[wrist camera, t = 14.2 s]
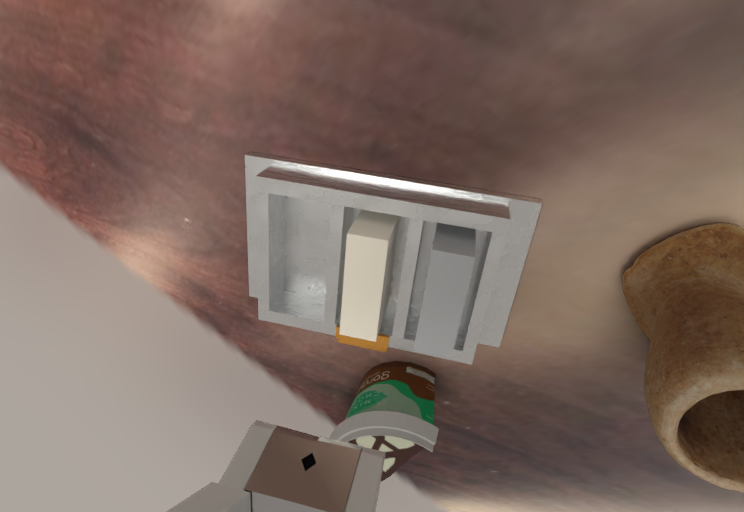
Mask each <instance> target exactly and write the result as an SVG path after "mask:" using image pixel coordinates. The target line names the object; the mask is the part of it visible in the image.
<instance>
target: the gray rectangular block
mask: <svg viewBox="0 0 744 512" xmlns="http://www.w3.org/2000/svg"><path fill="white" fill-rule="evenodd" d="M475 253H476V229H471V228H466V227H460V226H454V225H449V224H443V223H437V226H436V231H435V236H434V242H433V247H432V252H431V257H430V263H429V268H428V273H427V279H426V284H425V290H424V295H423V300H422V306H421V311H420V317H419V322H418V328H417V333H416V338H415V344H414V349H413V351H417V352H422V353H427V354H431V355H436V356H441V357H445V358H450V359H451V358H452V354H453V350H454V346H455V341H456V337H457V333H458V329H459V325H460V320H461V316H462V312H463V308H464V304H465V299H466V295H467V291H468V287H469V283H470V278H471V274H472V270H473V266H474V262H475Z"/></svg>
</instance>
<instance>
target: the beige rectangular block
mask: <svg viewBox="0 0 744 512" xmlns="http://www.w3.org/2000/svg"><path fill="white" fill-rule="evenodd" d="M399 221H400V216H397V215H391V214H386V213H380V212H374V211H368V210H363V209H361V211H360V213H359V214H358V216H357V218H356V219H355V221H354V223H353V224H352V226H351V228H350V229H349V231H348V233H347V240H346V253H345V266H344V280H343V293H342V306H341V319H340V333H339V334H340V335H345V336H350V337H354V338H359V339H364V340H369V341H374V342H376V340H377V337H378V334H379V331H380V327H381V324H382V321H383V318H384V315H385V312H386V308H387V305H388V302H389V295H390V288H391V281H392V273H393V266H394V258H395V251H396V243H397V236H398V228H399Z"/></svg>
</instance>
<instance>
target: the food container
mask: <svg viewBox="0 0 744 512" xmlns="http://www.w3.org/2000/svg"><path fill="white" fill-rule="evenodd" d="M434 399H435V373H433V372H432V371H430V370H428V369H427V368H425V367H422V366H419V365H416V364H414V363H411V362H400V361H393V362H387V363H382V364H380V365H377V366H375V367H373V368H372V369H371V370H369V371H368V372H367V374H366V375H365V376H364V378H363V380H362V382H361V385H360V387H359V389H358V392H357V394H356V396H355V398H354V401H353V403H352V405H351V408H350V410H349V412H348V415H347V417H346V419H345V420H344V421H343V422H342V423H340V424H339V425H338V426H337V427H336V428H335V429H334V431H333V433H332V434H331V436H330V439H334V440H338V441H343V442H347V443H351V444H356V445H360V446H363V447H366V448H370V449H374V450H378V451H382V452H386V453H385V460H384V466H383V471H382V477H381V481H383V480H385V479H386V478H388V477H389V476H391V475H392V474H393V473H394V472H395V471H397V470H398V469H399V468H400V467H401V466H402V465H403V464H404V463H405V462H406V461H408V460H409V459H410V458H411V457H413V456H414V455H415V454H417V453H418V452H419V451H421V450H422V449H423V448H426V449H428V450H429V451H431V452H433V446H434V444H435V443H436V439H437V435H438V430H439V428H437V427H435V426H434Z"/></svg>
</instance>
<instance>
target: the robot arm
mask: <svg viewBox="0 0 744 512" xmlns="http://www.w3.org/2000/svg"><path fill="white" fill-rule="evenodd" d="M385 453H386V452H382V451H378V450H374V449H370V448H366V447H363V446H360V445H356V444H351V443H347V442H343V441H338V440H334V439H330V438H325V437H321V436H320V437H317V436H313V435H310V434H306V433H302V432H299V431H295V430H292V429H288V428H285V427H281V426H277V425H273V424H269V423H265V422H262V421H258V420H256V421H255V422H254V423H253V425H251V427H250V428H249V430H248V432H247V434H246V436H245V437H244V439H243V441H242V443H241V445H240V446H239V448H238V450H237V452H236V453H235V455H234V457H233V459H232V460H231V462H230V464H229V466H228V468H227V469H226V471H225V473H224V475H223V476H222V479H221V480H220V482H219V484H218V483H213V482H211V483H210V484H208V485H207V486H205V487H204V488H202V489H201V490H199V491H198V492H196V493H194V494H193V495H191V496H190V497H188V498H187V499H185V500H184V501H182V502H181V503H179V504H177V505H176V506H174V507H173V508H171V509H170V510H168V511H167V512H375V511H376V505H377V499H378V494H379V488H380V482H381V477H382V471H383V466H384V460H385Z"/></svg>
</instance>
